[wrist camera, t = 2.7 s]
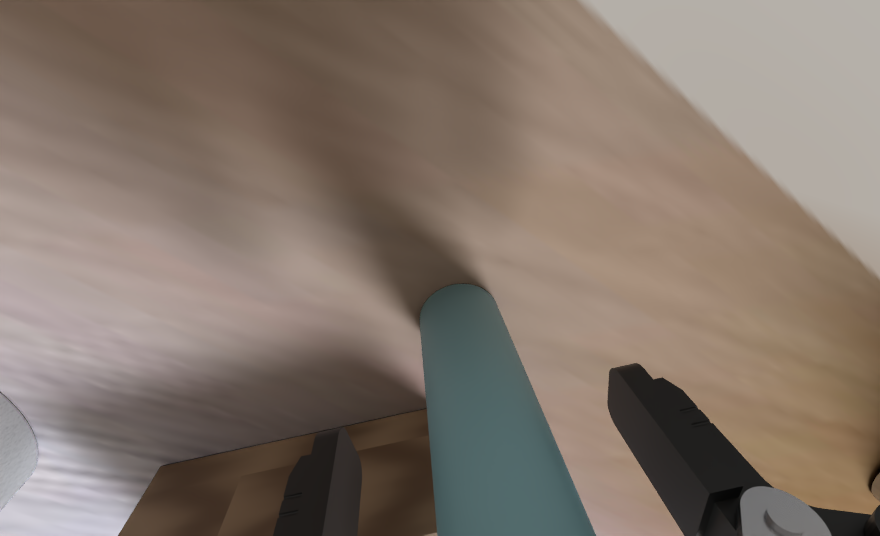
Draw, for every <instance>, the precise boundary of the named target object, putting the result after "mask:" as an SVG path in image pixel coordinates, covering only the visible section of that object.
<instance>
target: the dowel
mask: <svg viewBox="0 0 880 536" xmlns="http://www.w3.org/2000/svg"><path fill="white" fill-rule="evenodd" d="M420 332H421V344H422V356H423V368H424V380H425V393H426V405H427V417H428V429H429V441H430V453H431V465H432V477H433V489H434V501H435V513H436V526H437V536H596V534H595V532H594V530H593V527H592V525H591V523H590V520H589V518H588V516H587V513H586V511H585V509H584V506H583V504H582V502H581V500H580V497H579V495H578V493H577V490H576V488H575V486H574V483H573V481H572V479H571V476H570V474H569V472H568V469H567V467H566V465H565V462H564V460H563V458H562V455H561V453H560V451H559V448H558V446H557V444H556V441H555V439H554V437H553V434H552V432H551V430H550V427H549V425H548V423H547V420H546V418H545V416H544V413H543V411H542V409H541V406H540V404H539V402H538V400H537V397H536V395H535V393H534V390H533V388H532V386H531V383H530V381H529V379H528V376H527V374H526V372H525V369H524V367H523V365H522V362H521V360H520V358H519V355H518V353H517V351H516V348H515V346H514V344H513V341H512V339H511V337H510V334H509V332H508V330H507V327H506V325H505V323H504V320H503V318H502V316H501V313H500V311H499V309H498V306H497V304H496V302H495V300H494V298H493V297H492V296H491V295H490V294H489V293H488V292H487V291H486V290H484V289H482V288H480V287H478V286H475V285H471V284H454V285H450V286H447V287H444V288H442V289H440V290H438V291H436V292H435V293H434V294H432V295H431V296H430V297H429V298H428V299H427V301H426V302H425V303H424V305H423V307H422V309H421V312H420Z"/></svg>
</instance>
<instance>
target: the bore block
mask: <svg viewBox="0 0 880 536" xmlns="http://www.w3.org/2000/svg"><path fill="white" fill-rule="evenodd" d="M344 428H345V429H346V431H347V433H348V435H349V437H350V439H351V441H352V443H353V445H354V447H355V449H356V451H357V453H358V455H359V458H360V461H361V467H362V486H361V498H360V510H359V521H358V533H357V536H437V526H436V513H435V501H434V489H433V477H432V465H431V453H430V441H429V429H428V417H427V409H423V410H419V411H414V412H409V413H405V414H400V415H396V416H391V417H386V418H382V419H377V420H373V421H368V422H363V423H359V424H354V425H350V426H345V427H344ZM326 431H327V430H326ZM317 433H318V432H317ZM317 433H313V434H308V435H303V436H299V437H294V438H290V439H285V440H280V441H276V442H271V443H267V444H262V445H257V446H253V447H248V448H243V449H239V450H234V451H230V452H225V453H220V454H216V455H211V456H207V457H202V458H197V459H193V460H188V461H184V462H179V463H174V464H170V465H165V466H161V467H160V468H159V470H158V472H157V473H156V475H155V477H154V478H153V480H152V481H151V483H150V485H149V486H148V488H147V490H146V491H145V493H144V494H143V496H142V498H141V499H140V501H139V502H138V504H137V506H136V507H135V509H134V511H133V512H132V514H131V515H130V517H129V519H128V520H127V522H126V524H125V525H124V527H123V528H122V530H121V532H120V533H119V535H118V536H273V533H274V529H275V526H276V522H277V518H279V511H280V507H281V503H282V501H283V500H284V497H283V496H284V492H285V489H286V485H287V481H288V477H289V475H290V473H291V472H292V470H293V468H294V467H295V465H296V463H297V462H298V460H299V459H300V457H301V456H305V455H310V454H311V452H312V447H313V443H314V439H315V436H316V434H317Z"/></svg>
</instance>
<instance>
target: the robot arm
mask: <svg viewBox="0 0 880 536" xmlns="http://www.w3.org/2000/svg"><path fill="white" fill-rule="evenodd" d="M608 409H609V412H610V415H611V418H612V420H613V422H614V424H615V426H616V427H617V429H618V430H619V432H620V434H621V435H622V437H623V438H624V440H625V442H626V443H627V445H628V446H629V448H630V450H631V451H632V453H633V454H634V456H635V458H636V459H637V461H638V462H639V464H640V466H641V467H642V469H643V470H644V472H645V473H646V475H647V477H648V478H649V480H650V481H651V483H652V485H653V486H654V488H655V489H656V491H657V493H658V494H659V496H660V497H661V499H662V501H663V502H664V504H665V505H666V507H667V509H668V510H669V512H670V513H671V515H672V517H673V518H674V520H675V521H676V523H677V524H678V526H679V528H680V529H681V531H682V532H683V534H684V536H880V505H879V506H878V507H877V508H876V510H875V511H874V512H873V514H872V515H869V514H861V513H853V512H845V511H837V510H829V509H822V508H816V507H812V506H809V505H807V504H805V503H804V502H802V501H801V500H799V499H798V498H796V497H795V496H793V495H791V494H789V493H787V492H784V491H782V490H779V489H775V488H774V487H772V486H771V485H770V484H769V483H767V482H766V481H765V480H764V479H763V478H762V477H761V476H760V475H759V474H758V472H757V471H756V470H755V469H754V468H753V467H752V466H751V465H750V464H749V463H748V462H747V460H746V459H745V458H744V457H743V456H742V455H741V454H740V453H739V452H738V451H737V449H736V448H735V447H734V446H733V445H732V444H731V443H730V442H729V441H728V440H727V439H726V437H725V436H724V435H723V434H722V433H721V432H720V431H719V430H718V429H717V428H716V426H715V425H714V424H713V423H712V424H711V423H710V421H709V419H708V418H707V417H706V415H705V414H704V413H703V412H702V411H701V410H699V409H698V408H697V406H696V405H695V403H694V402H693V401H692V400H691V399H690V398H689V397H688V396H687V395H686V394H685V392H684V391H683V390H682V389H680V388H678V387H677V386H675V385H674V384H672V383H670V382H669V381H667V380H666V379H664V378H658V379H654V380H653V379H652V377H651V376H650V375H649V374H648V373H647V372H646V370H645V369H644V368H643V367H642V366H641V365H640V364H637V363H634V364H630V365H625V366H621V367H616V368H612V369H610V372H609V386H608ZM361 486H362V467H361V461H360V458H359V455H358V453H357V451H356V449H355V447H354V445H353V443H352V441H351V439H350V437H349V435H348V433H347V431H346V429H345V428H344V427H340V428H336V429H331V430H327V431H322V432H318V433H317V434H316V436H315V439H314V443H313V447H312V452H311V454H310V455H305V456H301V457H300V459H299V460H298V462H297V463H296V465H295V467H294V468H293V470H292V472H291V473H290V475H289V477H288V481H287V485H286V489H285V492H284V496H283V497H284V500H283V501H282V503H281V507H280V511H279V518H277V522H276V526H275V529H274V533H273V536H357V533H358V521H359V510H360V498H361ZM871 491H872V494H873V496H874V497H875V498H876V499H877V500H879V501H880V473H879V474H878V475H877V476H876V478H875V480H874V482H873V484H872V490H871Z"/></svg>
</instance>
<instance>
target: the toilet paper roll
mask: <svg viewBox="0 0 880 536" xmlns="http://www.w3.org/2000/svg"><path fill="white" fill-rule="evenodd" d="M37 459H38V446H37V442H36V438H35V436H34V433H33V431H32V429H31V427H30V425H29V424H28V422H27V420H26V419H25V418H24V416H23V415H22V414H21V412H20V411H19V410H18V409H17V408H16V407H15V406H14V405H13V404H12V403H11V402H10V401H9V400H8V399H7V398H6V397H5V396H4V395H3V394H2V393H0V511H1V510H2V509H3V508H4V507H5V506H6V504H7V503H8V502H9V501H10V500H11V498H12V497H13V496H14V495H15V494H16V493H17V491H18V490H19V489H20V488H21V487H22V486H23V484H24V483H25V482H26V481H27V480H28V479H29V477H30V476H31V475H32V473H33V471H34V470H35V467H36V464H37Z"/></svg>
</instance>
